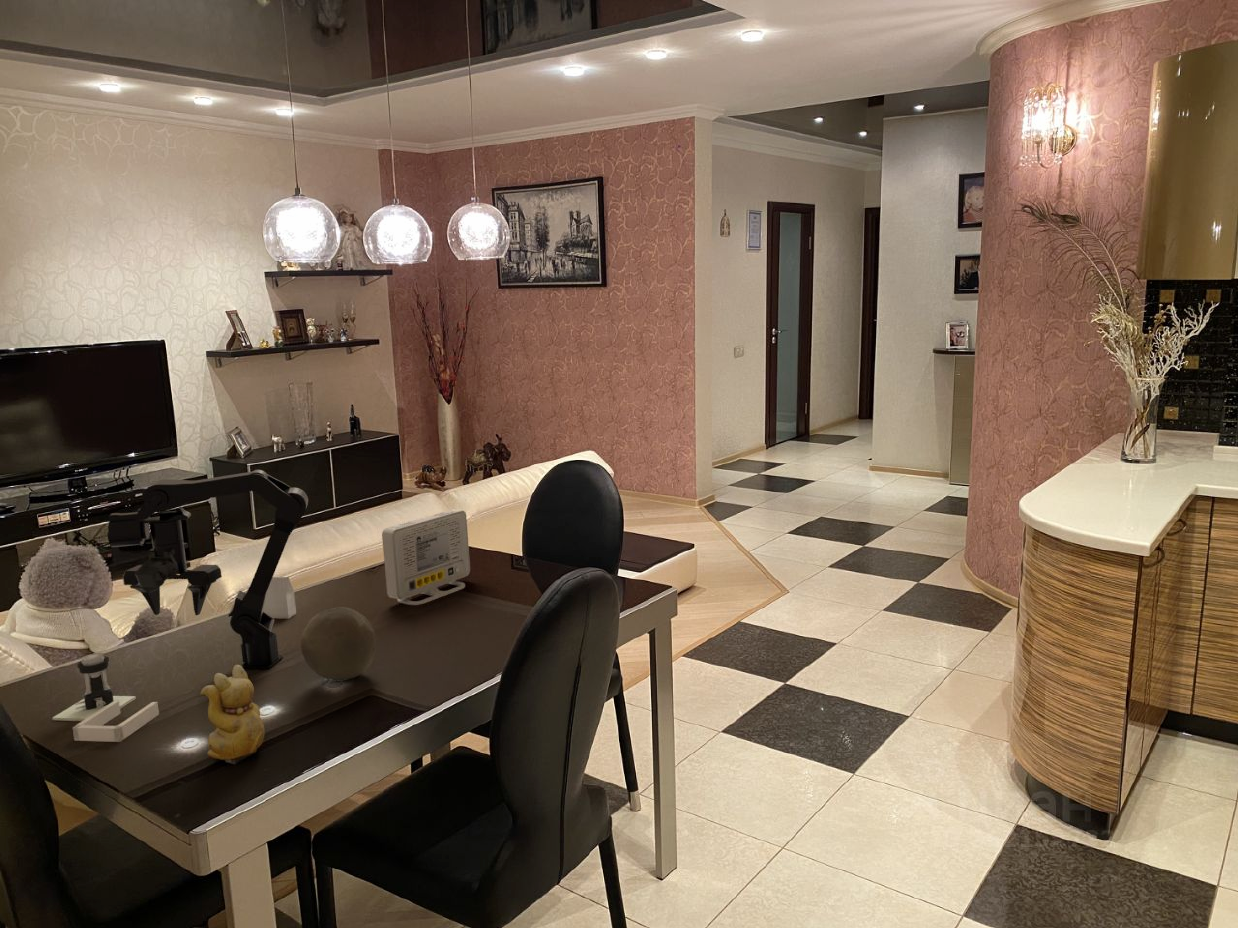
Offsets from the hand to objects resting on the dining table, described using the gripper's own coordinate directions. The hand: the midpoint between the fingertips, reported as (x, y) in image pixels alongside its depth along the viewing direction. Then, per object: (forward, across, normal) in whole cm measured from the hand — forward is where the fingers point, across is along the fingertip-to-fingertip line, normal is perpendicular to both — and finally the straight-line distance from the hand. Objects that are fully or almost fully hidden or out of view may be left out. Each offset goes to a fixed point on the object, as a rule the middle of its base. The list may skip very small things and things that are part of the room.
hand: (177, 614), depth 191 cm
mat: (+13, -8, -18) cm, 23 cm away
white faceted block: (+13, +2, +36) cm, 38 cm away
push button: (+13, -7, -17) cm, 23 cm away
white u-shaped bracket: (+13, +2, -24) cm, 28 cm away
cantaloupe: (+13, +36, -2) cm, 38 cm away
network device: (+13, +35, +54) cm, 66 cm away
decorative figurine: (+13, +32, -33) cm, 48 cm away
